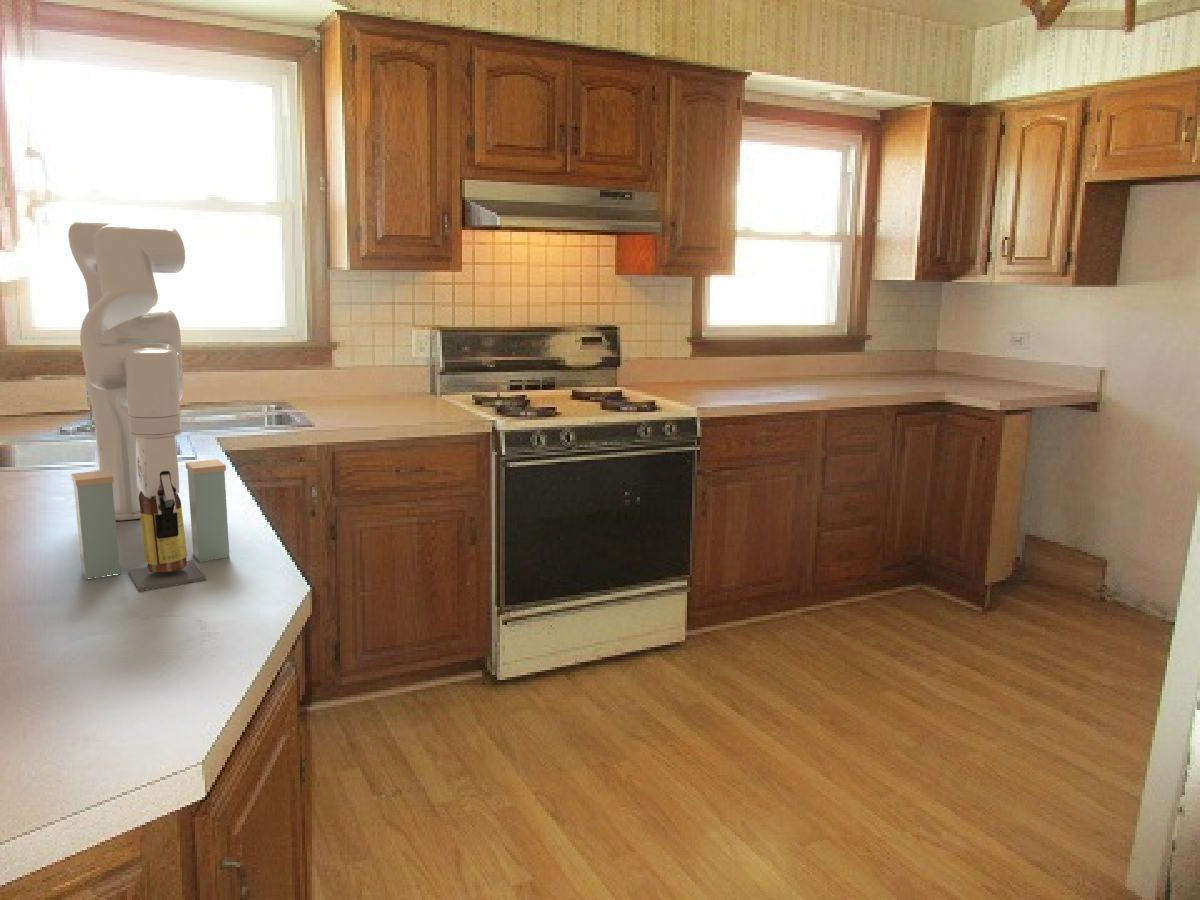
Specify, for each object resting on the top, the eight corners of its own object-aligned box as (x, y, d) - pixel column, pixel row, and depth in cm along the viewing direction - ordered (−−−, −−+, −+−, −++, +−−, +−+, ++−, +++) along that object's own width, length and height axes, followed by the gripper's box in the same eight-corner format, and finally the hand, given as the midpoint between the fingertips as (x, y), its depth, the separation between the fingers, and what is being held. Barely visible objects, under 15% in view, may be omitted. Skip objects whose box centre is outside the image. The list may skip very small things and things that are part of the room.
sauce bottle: (193, 562, 150) (186, 449, 146) (177, 575, 144) (169, 457, 140) (154, 561, 150) (146, 448, 146) (137, 574, 144) (127, 456, 140)
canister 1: (80, 571, 148) (71, 473, 145) (116, 565, 152) (108, 470, 148) (84, 580, 144) (75, 480, 141) (121, 574, 147) (113, 476, 144)
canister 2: (191, 554, 159) (185, 462, 155) (223, 549, 162) (217, 459, 158) (198, 562, 154) (192, 468, 151) (230, 557, 158) (225, 465, 154)
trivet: (128, 573, 148) (128, 569, 148) (192, 563, 154) (191, 559, 154) (139, 591, 140) (138, 587, 140) (205, 579, 146) (205, 576, 146)
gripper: (120, 418, 147) (129, 522, 150) (139, 436, 133) (148, 549, 137) (169, 415, 151) (176, 515, 155) (192, 432, 137) (199, 542, 141)
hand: (163, 530), depth 146 cm, fingers closed on sauce bottle, 6 cm apart
